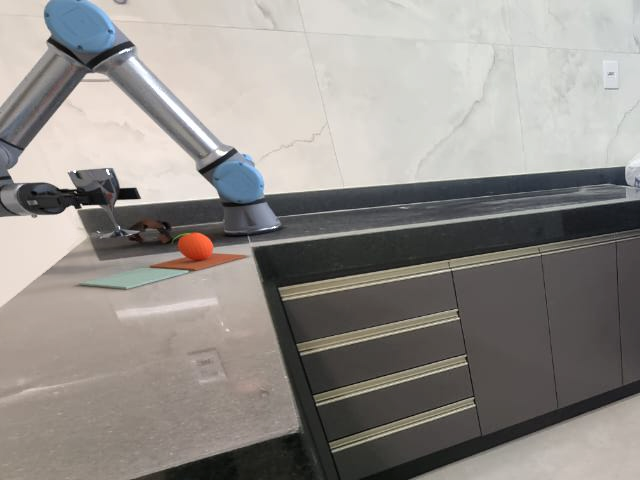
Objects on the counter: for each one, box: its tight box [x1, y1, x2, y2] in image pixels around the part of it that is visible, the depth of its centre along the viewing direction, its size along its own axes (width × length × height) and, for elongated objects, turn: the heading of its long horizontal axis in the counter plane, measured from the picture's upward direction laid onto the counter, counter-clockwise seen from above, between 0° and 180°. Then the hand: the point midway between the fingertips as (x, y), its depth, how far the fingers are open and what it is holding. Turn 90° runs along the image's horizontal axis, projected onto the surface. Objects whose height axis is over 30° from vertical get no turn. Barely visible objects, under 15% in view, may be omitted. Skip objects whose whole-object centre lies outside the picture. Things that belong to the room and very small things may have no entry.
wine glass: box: [67, 167, 140, 239], centre depth 126 cm, size 8×8×15 cm
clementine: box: [171, 231, 214, 260], centre depth 133 cm, size 8×7×7 cm
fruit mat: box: [149, 252, 247, 272], centre depth 135 cm, size 13×16×1 cm
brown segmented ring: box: [126, 217, 174, 244], centre depth 160 cm, size 12×9×8 cm
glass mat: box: [79, 266, 189, 290], centre depth 122 cm, size 13×16×1 cm
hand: (122, 195), depth 125 cm, fingers closed on wine glass, 7 cm apart
